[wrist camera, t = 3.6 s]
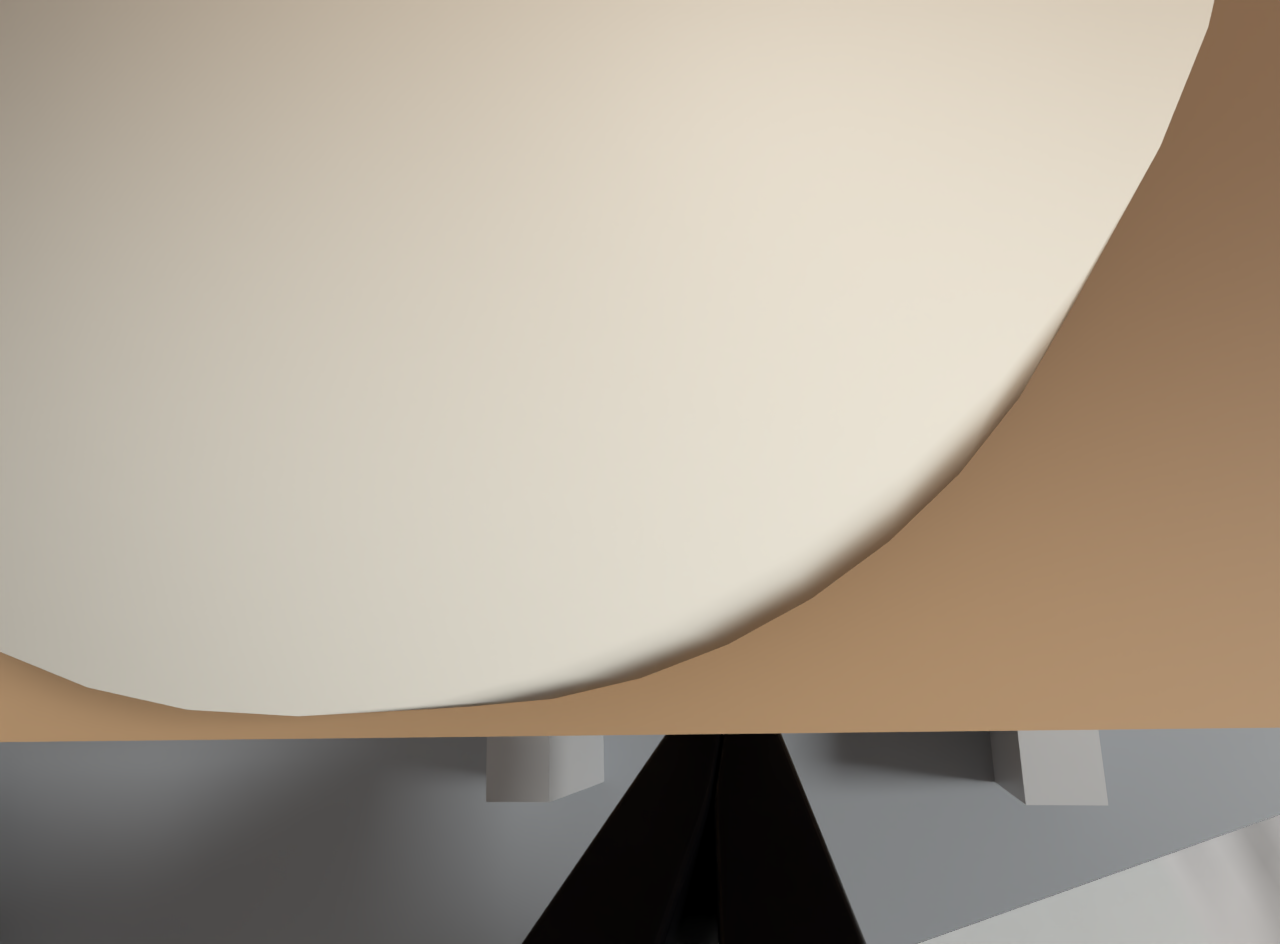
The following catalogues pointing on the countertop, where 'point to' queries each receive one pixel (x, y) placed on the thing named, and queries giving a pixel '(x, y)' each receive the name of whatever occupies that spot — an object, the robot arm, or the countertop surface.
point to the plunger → (637, 367)
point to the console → (571, 827)
